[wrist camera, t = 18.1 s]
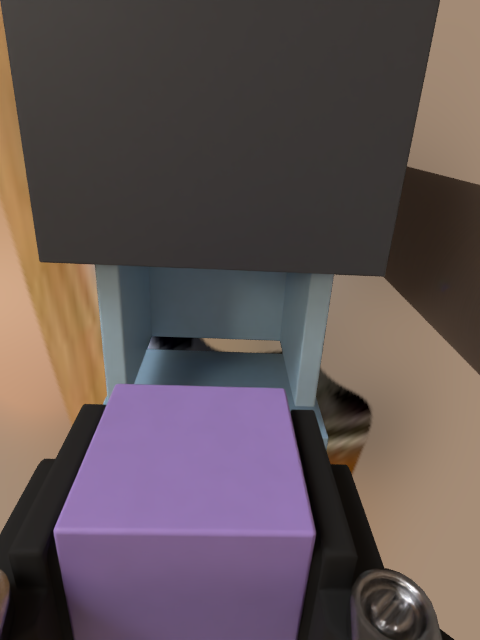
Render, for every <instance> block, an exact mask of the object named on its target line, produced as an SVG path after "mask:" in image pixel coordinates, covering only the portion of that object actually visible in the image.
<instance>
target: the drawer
mask: <svg viewBox="0 0 480 640" xmlns="http://www.w3.org/2000/svg"><path fill="white" fill-rule="evenodd" d="M95 270H96V280H97V291H98V302H99V312H100V323H101V333H102V344H103V355H104V365H105V376H106V386H107V397H106V399H105V401H104V404H103V405H107V403H108V401H109V398H110V396H111V394H112V391H113V389H114V387H115V385H116V384H147V385H183V386H220V387H256V388H283V389H285V391H286V395H287V399H288V404H289V408H290V412H291V410H292V409H295V410H314V412H315V414H316V418H317V421H318V424H319V428H320V431H321V435H322V438H323V441H324V445H325V448H326V450H327V444H328V435H327V432H326V428H325V425H324V422H323V419H322V415H321V412H320V409H319V406H318V402H317V399H316V392H317V385H318V378H319V372H320V365H321V358H322V351H323V345H324V338H325V331H326V324H327V318H328V311H329V304H330V297H331V290H332V284H333V277H334V274H312V273H288V272H264V271H240V270H217V269H193V268H169V267H145V266H121V265H97V264H95ZM152 336H163V337H191V338H221V339H248V340H249V339H250V340H276V341H280V343H281V347H282V352H283V354H272V353H243V352H214V351H185V350H156V349H147V348H148V345H149V342H150V339H151V337H152Z"/></svg>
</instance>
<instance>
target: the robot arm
mask: <svg viewBox="0 0 480 640" xmlns="http://www.w3.org/2000/svg"><path fill="white" fill-rule="evenodd" d="M105 408H106V405H99V404H84V405H83V406H82V408H81V410H80V412H79V414H78V416H77V418H76V420H75V422H74V424H73V426H72V428H71V430H70V431H69V434H68V436H67V437H66V439H65V441H64V443H63V445H62V447H61V449H60V451H59V453H58V455H57V457H56V459H44V460H42V461H41V462H40V464H39V465H38V466H37V468H36V470H35V472H34V474H33V475H32V477H31V479H30V481H29V483H28V485H27V487H26V488H25V490H24V492H23V494H22V495H21V497H20V499H19V501H18V503H17V505H16V506H15V508H14V510H13V512H12V514H11V515H10V517H9V519H8V521H7V523H6V525H5V526H4V528H3V530H2V532H1V534H0V640H74V639H73V634H72V628H71V623H70V618H69V612H68V607H67V602H66V597H65V591H64V586H63V581H62V575H61V570H60V565H59V559H58V554H57V549H56V543H55V538H54V531H53V530H54V528H55V525H56V523H57V521H58V518H59V516H60V513H61V511H62V509H63V506H64V504H65V502H66V499H67V497H68V495H69V492H70V490H71V488H72V485H73V483H74V481H75V478H76V476H77V474H78V471H79V469H80V466H81V464H82V462H83V459H84V457H85V455H86V452H87V450H88V448H89V445H90V443H91V441H92V438H93V436H94V434H95V431H96V429H97V426H98V424H99V422H100V419H101V417H102V415H103V412H104V410H105ZM290 413H291V418H292V422H293V427H294V432H295V436H296V441H297V446H298V450H299V455H300V460H301V464H302V469H303V474H304V478H305V483H306V487H307V492H308V497H309V501H310V506H311V511H312V515H313V520H314V525H315V529H316V538H315V544H314V549H313V555H312V560H311V565H310V571H309V577H308V582H307V588H306V594H305V599H304V605H303V610H302V616H301V622H300V627H299V633H298V639H297V640H454V639H453V638H451V637H450V636H449V635H447V634H446V633H445V632H443V631H442V630H441V629H440V628H439V624H438V620H437V616H436V613H435V610H434V609H433V605H432V603H431V601H430V599H429V598H428V597H427V596H426V594H425V592H424V591H423V590H422V589H421V588H420V587H419V586H418V585H417V584H416V583H415V582H414V581H413V580H411V579H410V578H408V577H406V576H405V575H403V574H401V573H400V572H396V571H393V570H390V569H386V568H384V566H383V563H382V560H381V557H380V554H379V552H378V549H377V546H376V543H375V541H374V537H373V535H372V532H371V529H370V526H369V523H368V520H367V517H366V514H365V512H364V509H363V506H362V503H361V500H360V497H359V494H358V491H357V489H356V486H355V483H354V480H353V477H352V474H351V472H350V469H349V467H348V466H347V465H335V464H330V461H329V458H328V455H327V451H326V448H325V445H324V441H323V438H322V435H321V431H320V428H319V424H318V421H317V418H316V414H315V412H314V410H295V409H292V410H291V412H290Z"/></svg>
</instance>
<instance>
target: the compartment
mask: <svg viewBox="0 0 480 640" xmlns="http://www.w3.org/2000/svg"><path fill="white" fill-rule="evenodd" d="M0 1H1V7H2V14H3V21H4V27H5V34H6V41H7V47H8V54H9V61H10V67H11V74H12V81H13V87H14V94H15V101H16V107H17V114H18V121H19V127H20V134H21V141H22V147H23V154H24V161H25V167H26V174H27V181H28V187H29V194H30V201H31V207H32V214H33V221H34V228H35V234H36V241H37V248H38V254H39V261H40V262H49V263H73V264H97V265H121V266H145V267H169V268H193V269H217V270H240V271H264V272H288V273H312V274H336V275H337V274H338V275H360V276H385V272H386V267H387V262H388V257H389V252H390V247H391V242H392V237H393V232H394V227H395V222H396V217H397V212H398V207H399V202H400V197H401V192H402V187H403V182H404V177H405V172H406V167H407V162H408V157H409V152H410V147H411V142H412V137H413V132H414V127H415V122H416V117H417V112H418V107H419V102H420V97H421V92H422V87H423V82H424V77H425V72H426V67H427V62H428V57H429V52H430V47H431V42H432V37H433V32H434V28H435V22H436V17H437V13H438V7H439V2H440V0H0Z"/></svg>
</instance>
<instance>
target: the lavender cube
mask: <svg viewBox="0 0 480 640" xmlns="http://www.w3.org/2000/svg"><path fill="white" fill-rule="evenodd" d="M53 531H54V538H55V543H56V549H57V554H58V559H59V565H60V570H61V575H62V581H63V586H64V591H65V597H66V602H67V607H68V612H69V618H70V623H71V628H72V634H73V639H74V640H297V639H298V633H299V627H300V622H301V616H302V610H303V605H304V599H305V594H306V588H307V582H308V577H309V571H310V565H311V560H312V555H313V549H314V544H315V538H316V529H315V525H314V520H313V515H312V511H311V506H310V501H309V497H308V492H307V487H306V483H305V478H304V474H303V469H302V464H301V460H300V455H299V450H298V446H297V441H296V436H295V432H294V427H293V422H292V418H291V413H290V408H289V404H288V399H287V395H286V391H285V389H283V388H256V387H220V386H183V385H147V384H116V385H115V387H114V389H113V391H112V394H111V396H110V398H109V401H108V403H107V405H106V408H105V410H104V412H103V415H102V417H101V419H100V422H99V424H98V426H97V429H96V431H95V434H94V436H93V438H92V441H91V443H90V445H89V448H88V450H87V452H86V455H85V457H84V459H83V462H82V464H81V466H80V469H79V471H78V474H77V476H76V478H75V481H74V483H73V485H72V488H71V490H70V492H69V495H68V497H67V499H66V502H65V504H64V506H63V509H62V511H61V513H60V516H59V518H58V521H57V523H56V525H55V528H54V530H53Z"/></svg>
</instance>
